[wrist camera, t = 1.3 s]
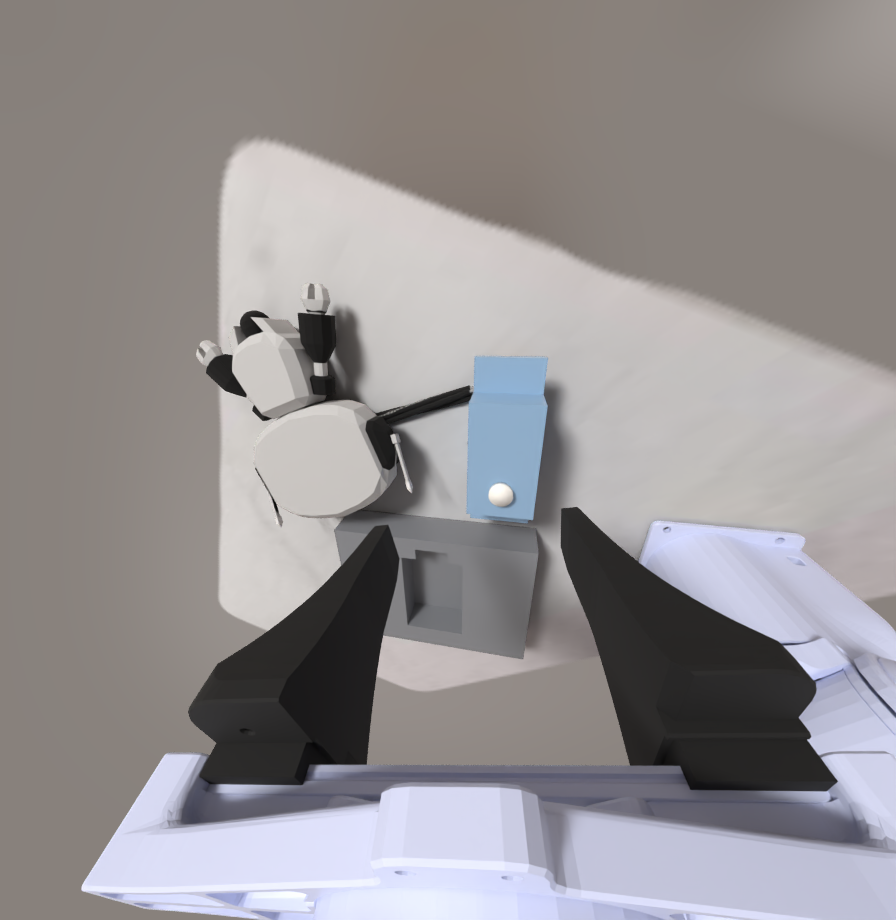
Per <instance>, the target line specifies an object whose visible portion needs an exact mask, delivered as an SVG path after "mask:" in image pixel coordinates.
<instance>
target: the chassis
mask: <svg viewBox="0 0 896 920" xmlns="http://www.w3.org/2000/svg"><path fill="white" fill-rule="evenodd" d="M379 525H389V528H390V531H391V534H392V537H393V540H394V543H395V546H396V549H397V552H398V555H399V558H400V560H399V569H398V577H397V583H396V587H395V591H394V595H393V599H392V603H391V607H390V610H389V614H388V618H387V622H386V626H385V630H384V634H383V635H384V636H390V637H396V638H402V639H408V640H414V641H419V642H425V643H431V644H437V645H443V646H448V647H454V648H460V649H466V650H472V651H477V652H483V653H489V654H495V655H501V656H506V657H512V658H518V659H523V657H524V650H525V643H526V637H527V630H528V623H529V616H530V609H531V602H532V596H533V589H534V582H535V575H536V568H537V562H538V555H539V553H538V543H537V534H536V528H527V527H517V526H508V525H498V524H488V523H479V522H469V521H459V520H450V519H440V518H430V517H421V516H411V515H401V514H391V513H382V512H372V511H362V510H357V511H355V512H353V513H351V514H348V515H346V516H345V517H344V519H343V520H342V521H341V522H340V524H339V525H338V526H337V527H336V529H335V530H334V532H335V537H336V542H337V547H338V552H339V556H340V561H341V566H342V564H343V563H344V562H345V561H346V560H347V559H348V558H349V556H350V555H351V554H352V553H353V552H354V550H355V549H356V548H357V547H358V546H359V544H360V543H361V542H362V541H363V540H364V538H365V537H366V536H367V535H368V533H369V532H370V531H371V530H372V529H373V528H374V526H379Z"/></svg>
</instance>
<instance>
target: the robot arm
mask: <svg viewBox="0 0 896 920" xmlns="http://www.w3.org/2000/svg"><path fill="white" fill-rule="evenodd" d="M665 527H668V529H664V528H665ZM778 538H779V539H778ZM776 539H777V540H776ZM805 541H806V540H805V538H804V537H802V536H801V535H800V534H797V533H787V532H776V531H766V530H755V529H744V528H733V527H723V526H712V525H701V524H691V523H680V522H669V521H654V522H653V523H651V525H650V528H649V531H648V534H647V537H646V540H645V543H644V546H643V549H642V552H641V555H640V558H639V562H638V561H636V560H635V559H634V558H633V557H631V556H630V555H629V554H628V553H626V552H625V551H624V550H623V549H622V548H620V547H619V546H618V545H617V544H616V543H615V542H614V541H612V540H611V539H610V538H609V537H608V536H607V535H606V534H605V533H604V532H603V531H601V530H600V529H599V528H598V527H597V526H596V525H595V524H594V523H593V522H592V521H591V520H590V519H589V518H588V517H587V516H586V515H585V514H584V513H583V512H582V511H581V510H580V509H579V508H578V507H573V508H562V509H561V549H562V553H563V556H564V560H565V563H566V567H567V570H568V573H569V575H570V578H571V580H572V583H573V585H574V588H575V590H576V592H577V595H578V597H579V600H580V602H581V604H582V607H583V609H584V612H585V614H586V617H587V619H588V621H589V624H590V627H591V630H592V632H593V635H594V638H595V642H596V645H597V648H598V651H599V655H600V658H601V661H602V665H603V668H604V671H605V675H606V678H607V682H608V685H609V689H610V692H611V696H612V699H613V703H614V707H615V710H616V714H617V717H618V721H619V725H620V728H621V732H622V736H623V740H624V744H625V748H626V752H627V755H628V759H629V763H630V766H587V765H585V766H583V765H582V766H580V765H578V766H577V765H561V766H560V765H558V766H557V765H552V766H551V765H367V754H368V742H369V733H370V723H371V714H372V706H373V697H374V690H375V682H376V675H377V668H378V662H379V655H380V649H381V643H382V638H383V634H384V630H385V626H386V622H387V618H388V614H389V610H390V607H391V603H392V599H393V595H394V591H395V587H396V583H397V577H398V569H399V560H400V558H399V555H398V552H397V549H396V546H395V543H394V540H393V537H392V534H391V531H390V528H389V525H379V526H374V528H373V529H372V530H371V531H370V532H369V533H368V535H367V536H366V537H365V538H364V540H363V541H362V542H361V543H360V544H359V546H358V547H357V548H356V549H355V550H354V552H353V553H352V554H351V555H350V556H349V558H348V559H347V560H346V561H345V562H344V563H343V564H342V566H341V567H340V568H339V569H338V570H337V571H336V572H335V573H334V574H333V575H332V576H331V577H330V578H329V580H328V581H327V582H326V583H325V584H324V585H323V586H322V587H321V588H319V589H318V590H317V591H316V592H315V593H314V594H313V595H312V596H311V597H310V598H309V599H308V600H306V601H305V602H304V603H303V604H302V605H301V606H299V607H298V608H297V609H296V610H294V611H293V612H292V613H291V614H290V615H288V616H287V617H286V618H285V619H283V620H282V621H281V622H280V623H278V624H277V625H276V626H274V627H273V628H272V629H270V630H269V631H267V632H266V633H265V634H263V635H262V636H260V637H259V638H257V639H256V640H255V641H253V642H252V643H250V644H249V645H247V646H245V647H244V648H243V649H241V650H239V651H238V652H236V653H234V654H233V655H231V656H230V657H228V658H227V659H225V660H223V661H222V662H220V663H218V664H217V666H216V667H215V669H214V670H213V672H212V673H211V675H210V676H209V678H208V680H207V681H206V682H205V684H204V686H203V687H202V689H201V690H200V692H199V693H198V695H197V696H196V698H195V699H194V701H193V702H192V704H191V706H190V708H189V711H188V713H189V717H190V719H191V721H192V722H193V723H194V724H195V725H196V726H197V727H198V728H199V729H200V730H202V731H203V732H204V733H205V734H207V735H208V736H209V737H210V738H211V739H213V740H214V741H215V742H216V745H215V747H214V749H213V751H212V753H211V755H208V754H204V753H197V752H194V753H193V752H173V753H172V752H169V753H167V754H165V755H164V757H163V759H162V760H161V762H160V763H159V765H158V766H157V768H156V770H155V771H154V773H153V774H152V776H151V778H150V779H149V781H148V782H147V784H146V786H145V787H144V789H143V790H142V792H141V793H140V795H139V796H138V798H137V800H136V801H135V803H134V804H133V806H132V808H131V809H130V811H129V812H128V814H127V816H126V817H125V818H124V820H123V822H122V823H121V825H120V826H119V828H118V830H117V831H116V833H115V834H114V836H113V837H112V839H111V841H110V842H109V844H108V845H107V847H106V849H105V850H104V852H103V853H102V855H101V856H100V858H99V860H98V861H97V863H96V864H95V866H94V867H93V869H92V871H91V872H90V874H89V875H88V877H87V878H86V880H85V882H84V883H83V885H82V891H84V892H87V893H91V894H95V895H98V896H102V897H106V898H109V899H113V900H116V901H120V902H124V903H127V904H131V905H134V906H138V907H141V908H145V909H154V910H167V911H168V910H169V911H181V912H192V913H202V914H213V915H223V916H232V917H241V918H250V919H259V920H896V632H895V630H894V629H893V628H892V627H891V626H890V625H889V624H888V623H887V622H886V621H885V620H884V619H883V618H882V617H881V616H880V615H878V614H877V613H876V612H875V611H874V610H872V609H871V608H870V607H869V606H868V605H866V604H865V603H864V602H863V601H862V600H860V599H859V598H858V597H857V596H856V595H854V594H853V593H852V592H851V591H850V590H848V589H847V588H846V587H845V586H844V585H842V584H841V583H840V582H839V581H837V580H836V579H835V578H834V577H833V576H831V575H830V574H829V573H828V572H827V571H825V570H824V569H823V568H822V567H821V566H819V565H818V564H817V563H816V562H815V561H813V560H812V559H811V558H810V557H809V556H807V555H806V554H805V553H804V552H803V551H801V549H802V547H803V545H804V544H805Z"/></svg>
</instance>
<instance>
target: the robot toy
mask: <svg viewBox="0 0 896 920" xmlns="http://www.w3.org/2000/svg"><path fill="white" fill-rule="evenodd" d="M301 300H302V302H303V304H304V306H305V308H306V310H307V312H308V313H309V314H307V313H298V320H299V331H300V334H299V332H298V331H297V330H296V329H295V328H294V327H293V326H292V325H291V323H290V322H289V321H288V320H281V319H270V318H269V317H268V316H267V315H265V314H264V313H262V312H259V311H249V312H246V313H245V314H244V315H243V316H242V318H241V320H240V326H241V327H239V326H234V327H233V329H232V331H231V333H230V335H229V341H230V345H231V349H232V353H233V355H228V354H224V355H223V353H222V351H221V348H220V347H219V346H217V345H216V344H214V343H213V342H211V341H209V340H207V341H203V342H201V343H200V346H201V347H202V348H198V349H197V353H196V356H197V358H198V359H199V360H200V362H201V363H202V364H203V365H206V366H207V370H206V373H207V374H208V375H209V376H210V377H211V378H212V379H213V380H214V381H215V382H216V383H217V384H218V385H219V386H220V387H222V388H223V389H224V390H225V391H227V392H230V393H233V394H236V395H239V396H243V397H247V398H248V399H249V400H250V401H251V402H252V403H253V404H254V406H253V410H252V411H253V412H254V413H255V414H256V415H257V416H258V417H259V418H260V419H261V420H262V421H267V420H270V419H275V418H278V417H280V418H278V419H277V420H275V421H274V422H272V423H271V424H270V425H269V426H267V427H266V428H265V429H264V430H263V431H262V432H261V434H260V435H259V436H258V438H257V441H256V443H255V446H254V462H253V463H254V465H255V469H256V471H257V473H258V475H259V476H260V478H261V480H262V483H263V486H264V485H265V487H266V489H267V492H268V495H269V498H270V501H271V505H272V508H273V511H274V514H275V521H276V524H277V525H278V526H280V527H281V526H282V523H283V521H282V517H281V516H280V514H279V511H278V508H277V505H278V506H280V507H282V508H284V509H285V510H287V511H289V512H291V513H294V514H296V515H299V516H302V517H308V518H330V517H342V516H346V515H348V514H351V513H353V512H355V511H357V510H360V509H362V508H364V507H366V506H367V505H369V504H371V503H372V502H374V501H375V500H376V499H378V498H379V497H380V496H381V495H382V494H383V493H384V491H385V490H386V489H387V488H388V487H389V486H390V485H391V483H392V482H393V480H394V478H395V477H396V475H397V466H396V464H397V463H398V462H399V461H400V463H401V467H402V470H403V473H404V477H405V480H406V482H405V483H406V487H407V490H408V491H409V492H411V493H412V490H413V485H412V482H411V481H410V478H409V475H408V472H407V468H406V465H405V461H404V458H403V455H402V451H401V448H400V445H399V443H400V442H401V441H400V438H399V434H394V433H393V430H392V428H391V427H390V426H389V425H388V424H387V423H386V421H385V420H384V419H383V417H382V416H377V415H376V414H375V413H374V412H373V411H372V410H371V409H370V408H369V407H368V406H367V405H365V404H362V403H359V402H356V401H353V400H331V401H326V402H321V401H323V400H325V398H326V395H331V394H334V393H335V381H334V377H332V376H331V375H328V367H327V362H328V360H329V358H330V357H331V355H332V353H333V350H334V348H335V346H336V330H335V316H330V315H325V313H326V312H327V309H328V306H329V304H330V298H329V294H328V290H327V289H326V288H325V287H324V286H323V285H322V284H315V286H314V284H310V283H306V284H305V285H303V286H302V290H301ZM318 402H321V403H318ZM276 503H277V504H276Z"/></svg>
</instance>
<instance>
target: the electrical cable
mask: <svg viewBox="0 0 896 920" xmlns="http://www.w3.org/2000/svg"><path fill="white" fill-rule="evenodd" d="M473 392H474V386H472V387H470V386H466V387H463V388H459V389H456V390H453V391H450V392H446V393H442V394H439V395H436V396H433V397H430V398H427V399H424V400H421V401H418V402H415V403H412V404H410V405H406V406H402V407H397V408H393V409H390V410H386V411H383V412H379V413H375V414H376V415H377V416H382V417H383V419H384V420H385V421H386V423H387V424H388V423H392V422H395V421H398V420H401V419H404V418H407V417H410V416H413V415H416V414H420V413H424V412H429V411H433V410H437V409H441V408H445V407H449V406H453V405H456V404H459V403H463V402H466V401H470V399H471V397H472V394H473Z"/></svg>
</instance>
